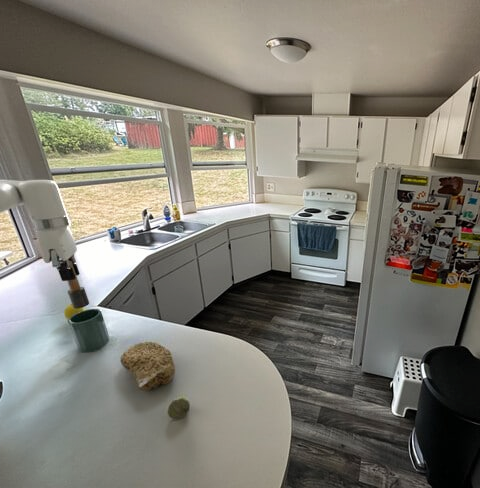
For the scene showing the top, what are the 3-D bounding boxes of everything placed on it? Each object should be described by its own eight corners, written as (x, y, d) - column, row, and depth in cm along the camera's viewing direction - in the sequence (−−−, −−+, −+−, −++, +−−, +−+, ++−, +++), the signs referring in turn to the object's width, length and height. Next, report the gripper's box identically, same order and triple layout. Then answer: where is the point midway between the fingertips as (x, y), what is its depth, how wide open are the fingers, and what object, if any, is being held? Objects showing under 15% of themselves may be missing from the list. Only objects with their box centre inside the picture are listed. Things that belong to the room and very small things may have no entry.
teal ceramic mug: (74, 355, 84) (63, 326, 80) (83, 339, 91) (73, 312, 87) (106, 347, 88) (96, 319, 84) (112, 333, 95) (103, 306, 91)
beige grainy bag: (182, 380, 78) (167, 336, 91) (173, 367, 74) (159, 322, 86) (132, 409, 71) (124, 357, 84) (120, 397, 67) (113, 344, 79)
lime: (193, 409, 68) (190, 396, 67) (177, 425, 64) (173, 412, 63) (182, 402, 70) (179, 389, 68) (165, 418, 66) (162, 404, 64)
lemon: (64, 324, 99) (57, 307, 96) (79, 315, 104) (73, 299, 101) (75, 326, 98) (69, 308, 95) (90, 317, 103) (84, 301, 101)
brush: (71, 309, 81) (54, 265, 76) (75, 303, 85) (60, 260, 79) (87, 306, 83) (71, 263, 78) (91, 300, 87) (76, 258, 81)
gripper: (47, 217, 79) (66, 269, 85) (18, 231, 66) (43, 292, 72) (78, 215, 82) (94, 266, 89) (56, 228, 69) (77, 287, 75)
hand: (71, 277), depth 80 cm, fingers closed on brush, 2 cm apart
